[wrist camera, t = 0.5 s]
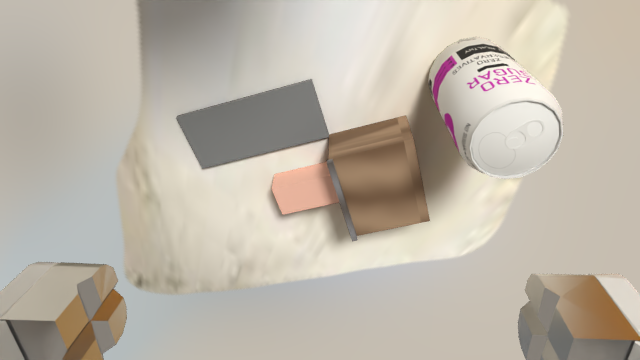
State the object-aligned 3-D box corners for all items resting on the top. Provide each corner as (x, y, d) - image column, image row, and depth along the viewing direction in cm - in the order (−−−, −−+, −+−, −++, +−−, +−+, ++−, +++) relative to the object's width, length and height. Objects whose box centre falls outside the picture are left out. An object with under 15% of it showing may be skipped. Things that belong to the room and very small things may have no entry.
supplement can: (452, 123, 50) (492, 201, 37) (412, 68, 46) (442, 133, 34) (519, 80, 47) (588, 149, 34) (482, 17, 43) (543, 69, 31)
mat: (177, 115, 50) (176, 117, 49) (311, 78, 47) (311, 80, 46) (203, 165, 53) (202, 168, 53) (329, 134, 51) (329, 137, 50)
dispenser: (327, 135, 51) (326, 164, 45) (405, 115, 49) (415, 143, 44) (350, 207, 56) (352, 241, 51) (421, 192, 55) (431, 225, 49)
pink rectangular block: (274, 172, 54) (271, 188, 51) (385, 146, 52) (388, 161, 49) (285, 197, 56) (282, 214, 53) (392, 173, 54) (395, 189, 51)
